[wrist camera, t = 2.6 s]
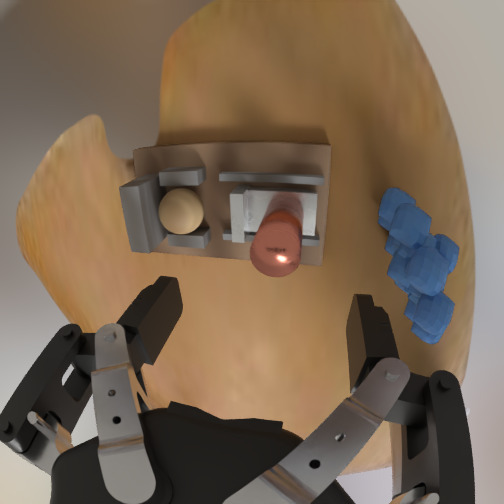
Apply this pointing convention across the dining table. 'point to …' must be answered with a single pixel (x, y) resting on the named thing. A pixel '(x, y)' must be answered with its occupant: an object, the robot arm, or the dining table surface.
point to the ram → (273, 224)
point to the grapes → (418, 263)
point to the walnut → (181, 211)
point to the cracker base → (220, 192)
